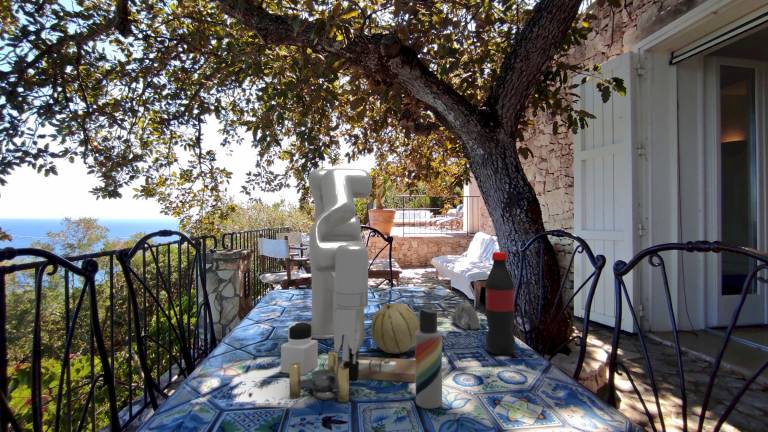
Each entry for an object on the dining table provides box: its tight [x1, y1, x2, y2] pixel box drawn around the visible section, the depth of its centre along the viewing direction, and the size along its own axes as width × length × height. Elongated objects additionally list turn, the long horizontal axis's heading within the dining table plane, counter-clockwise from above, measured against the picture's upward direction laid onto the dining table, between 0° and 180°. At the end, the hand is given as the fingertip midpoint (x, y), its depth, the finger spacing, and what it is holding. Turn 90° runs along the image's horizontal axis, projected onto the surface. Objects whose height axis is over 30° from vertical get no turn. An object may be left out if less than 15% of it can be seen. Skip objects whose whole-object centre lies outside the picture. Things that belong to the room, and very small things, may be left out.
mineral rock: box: [451, 299, 481, 330], centre depth 148 cm, size 13×11×10 cm
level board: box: [338, 356, 415, 383], centre depth 102 cm, size 20×10×5 cm, turn 80°
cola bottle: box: [484, 251, 516, 356], centre depth 117 cm, size 8×8×30 cm
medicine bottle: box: [280, 322, 319, 377], centre depth 104 cm, size 7×7×12 cm
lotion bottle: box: [414, 308, 443, 410], centre depth 84 cm, size 6×6×20 cm
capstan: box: [289, 350, 350, 403], centre depth 88 cm, size 12×14×7 cm
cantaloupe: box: [370, 302, 420, 355], centre depth 118 cm, size 15×15×15 cm
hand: (351, 379), depth 89 cm, fingers closed
